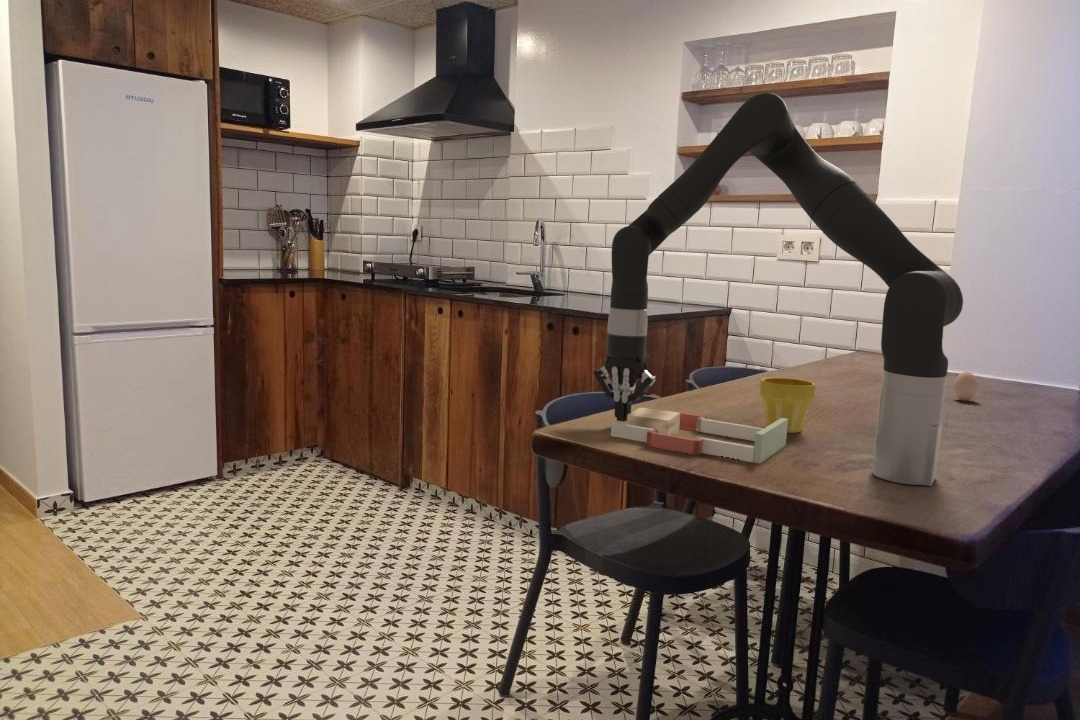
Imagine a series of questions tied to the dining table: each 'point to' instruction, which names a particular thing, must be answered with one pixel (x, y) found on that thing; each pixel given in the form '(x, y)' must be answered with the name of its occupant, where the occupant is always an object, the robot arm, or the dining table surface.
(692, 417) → the trap lane
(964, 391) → the egg
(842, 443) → the dining table surface
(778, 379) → the plant pot
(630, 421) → the birch block
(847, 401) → the dining table surface
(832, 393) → the dining table surface
